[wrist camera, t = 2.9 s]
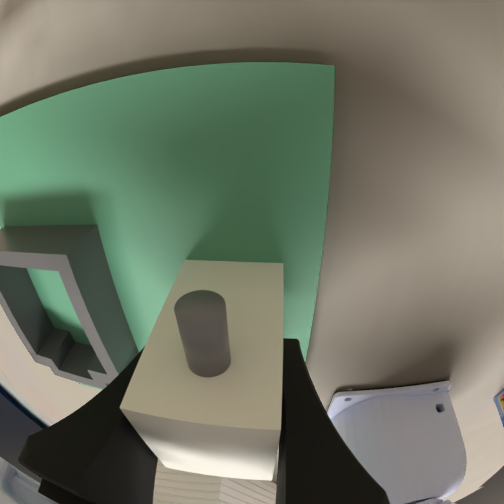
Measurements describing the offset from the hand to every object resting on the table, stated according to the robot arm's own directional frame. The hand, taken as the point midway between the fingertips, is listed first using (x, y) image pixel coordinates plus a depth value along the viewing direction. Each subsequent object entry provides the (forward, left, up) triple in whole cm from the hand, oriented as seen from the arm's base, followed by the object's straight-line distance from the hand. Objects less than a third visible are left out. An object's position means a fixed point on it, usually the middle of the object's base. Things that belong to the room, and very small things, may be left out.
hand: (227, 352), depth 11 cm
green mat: (+5, 0, -4) cm, 6 cm away
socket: (+10, 0, -3) cm, 10 cm away
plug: (0, 0, -3) cm, 3 cm away
